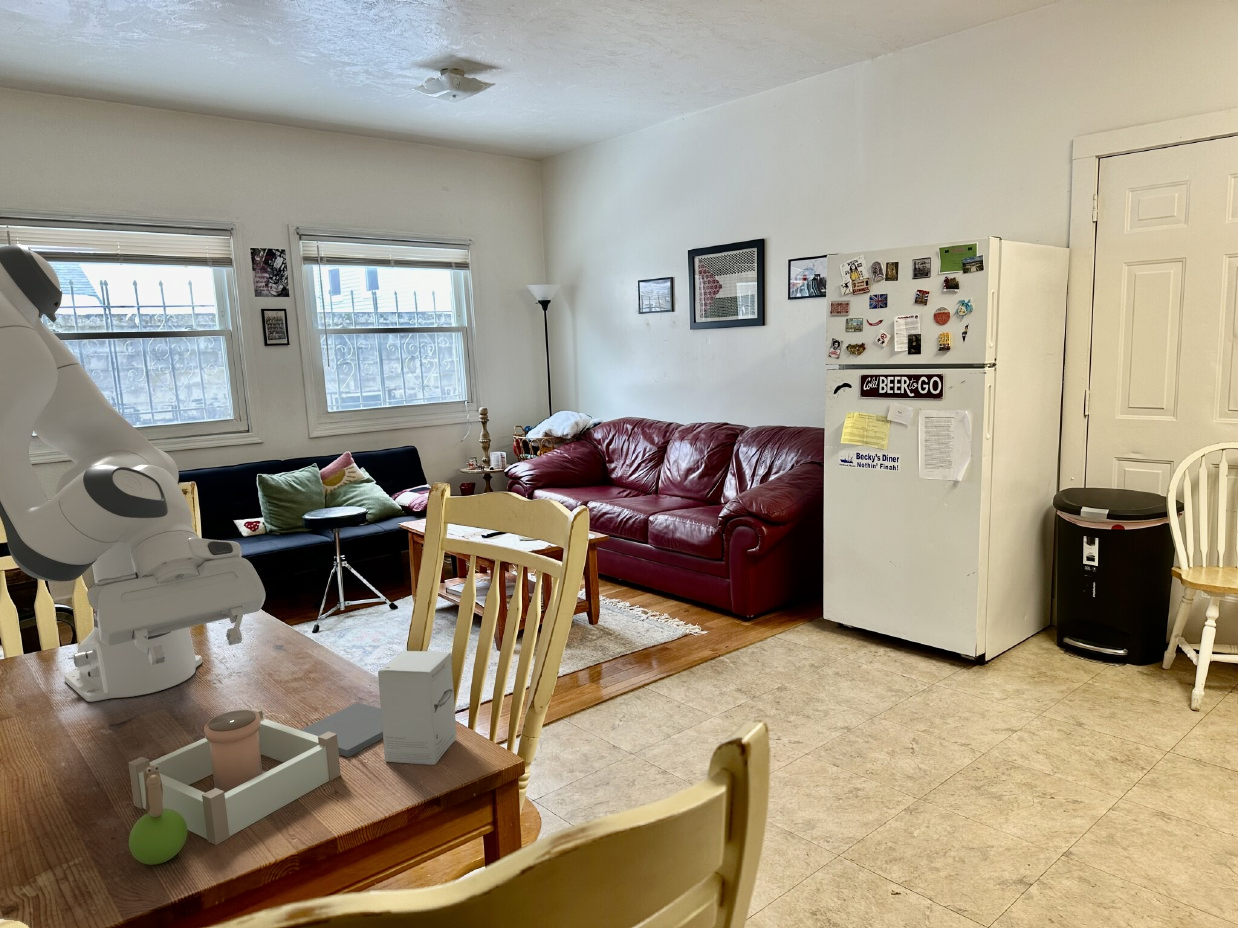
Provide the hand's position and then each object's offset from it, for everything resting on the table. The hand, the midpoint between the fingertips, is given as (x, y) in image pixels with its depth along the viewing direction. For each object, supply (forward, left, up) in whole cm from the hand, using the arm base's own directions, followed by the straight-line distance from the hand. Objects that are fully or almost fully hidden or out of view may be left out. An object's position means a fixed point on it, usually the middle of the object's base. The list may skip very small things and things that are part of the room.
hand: (198, 651), depth 108 cm
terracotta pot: (+12, -3, -15) cm, 19 cm away
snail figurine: (+18, -16, -15) cm, 28 cm away
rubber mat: (+12, +14, -15) cm, 23 cm away
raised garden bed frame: (+12, -3, -15) cm, 19 cm away
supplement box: (+25, +15, -15) cm, 32 cm away
